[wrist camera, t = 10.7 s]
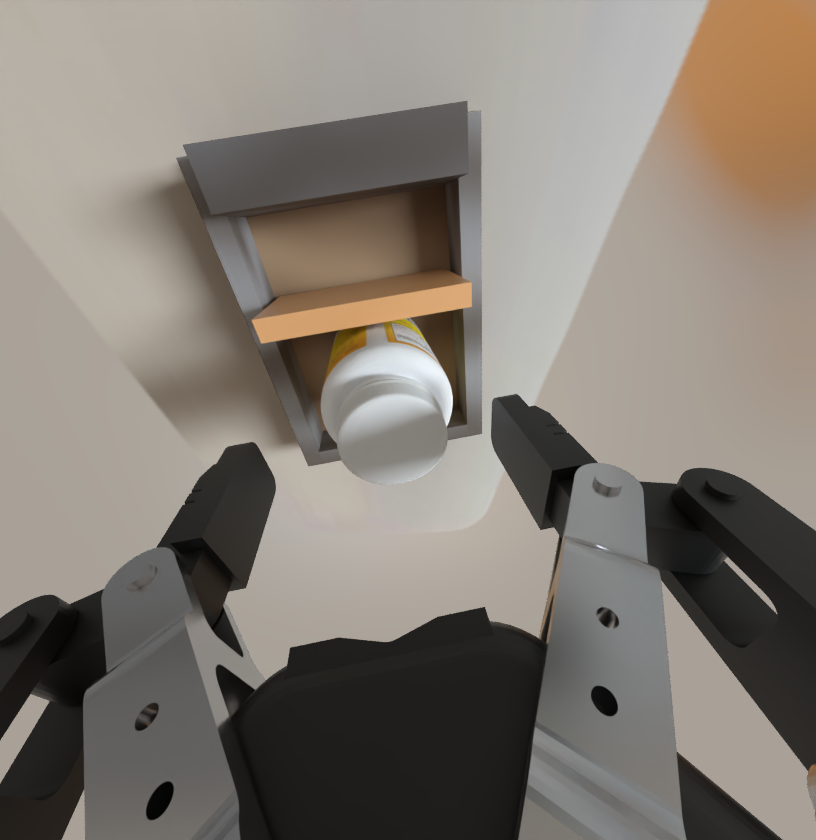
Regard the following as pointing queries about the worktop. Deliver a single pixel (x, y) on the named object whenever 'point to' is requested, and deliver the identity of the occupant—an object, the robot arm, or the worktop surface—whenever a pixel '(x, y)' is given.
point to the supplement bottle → (386, 402)
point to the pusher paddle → (362, 304)
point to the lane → (349, 237)
